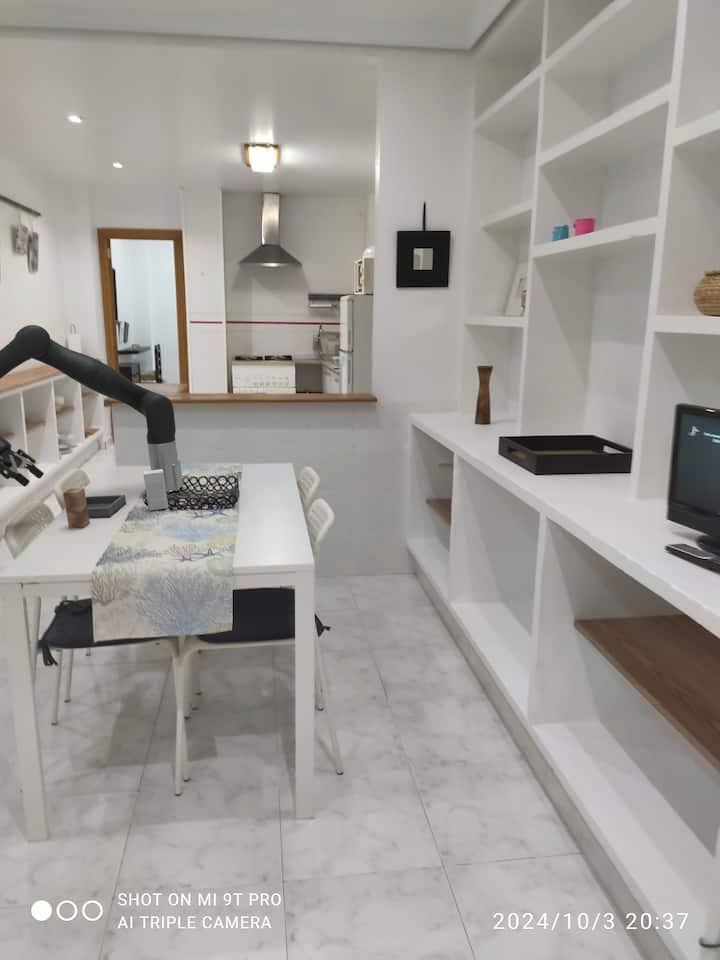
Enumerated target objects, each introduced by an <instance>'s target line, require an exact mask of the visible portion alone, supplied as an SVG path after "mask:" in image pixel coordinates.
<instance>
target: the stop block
mask: <svg viewBox="0 0 720 960" xmlns="http://www.w3.org/2000/svg"><path fill="white" fill-rule="evenodd" d="M62 496H63V501H64V507H65V513H66V517H67V523H68V529H69V528H79V529H85V528H86V527H87V526H88V524H89V525H90V524H91V522H90V518H89V515H88V509H87V502H86V497H87V496H86V492H85V488H84V487H82V488H79V487H78V488H68V489H67V490H65V491H63V493H62Z"/></svg>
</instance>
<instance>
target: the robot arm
mask: <svg viewBox="0 0 720 960" xmlns="http://www.w3.org/2000/svg"><path fill="white" fill-rule="evenodd" d="M32 359H33V360H36V361H38V362H41V363H43V364H45V365H48V366H50V367H52V368H54V369H56V370H58V371H60V372H61V373H62V374H64V375H65V376H67V377H68V378H71V379H72V380H74V381H75V382H77V383H79V384H81V385H83V386H84V387H86V388H88V389H90V390H92V391H94V392H96V393H98V394H100V395H102V396H105V397H107V398H110V399H113V400H116V401H119V402H121V403H123V404H126V405H127V406H129V407H130V408H132V409H134V410H135V411H136V412H138V413H140V414H141V415H143V417H145V420H146V429H147V430H146V431H147V433H146V444H147V450H148V460H149V464H150V465H149V467H150V471H151V470H159V469H162V470H163V472H164V479H165V486H166V490H179V489H180V488H181V487H182V486H183V487H184V481H183V474H182V466H181V461H180V460H179V458H178V450H177V441H176V431H177V430H176V421H175V420H176V419H175V418H176V417H175V409H174V406H173V403H172V401H171V400H170V398H168V397H167V396H165V395H163V394H161V393H157V392H154V391H152V390H150V389H147V388H144V387H142V386H141V385H138V384H136V383H134V382H133V381H131V380H130V379H129V378H127V377H126V376H125V375H124V374H122V373H121V372H119V371H118V370H117V369H116V368H115V369H114V368H113V367H111V366H110V365H108V364H106V363H104V362H102V361H101V360H99V359H97V358H95V357H92V356H90V355H88V354H84V353H81V352H78V351H77V350H76V351H75V350H72V349H69V348H68V347H65V346H63V345H62V344H60V343H59V342H57V341H55V340H53V339H52V338H51V336H50V334H49V332H48V330H46V329H45V328H44V327H42V326H40V325H37V324H29V325H25V326H24V327H22V328H20V329H19V330H18V331H17V332H16V333H15V335H14V337H13V339H12V340H11V341H10V342H8V344H7V345H5V346H4V347H2V349H0V380H1V379H3V378H4V377H5V376H6V375H8V373H10V372H11V371H12V370H14V369H16V368H17V367H19V366H20V365H22V364H24V363H25V362H27V361H30V360H32ZM35 463H36V459H35V458H33V457H32V456H30V454H28V453H26V452H25V451H24V450H23V449H22V448H21V449H20V448H18V449H17V450H16V451H14V450H12V443H11V442H9V441H8V440H6V439H5V438H4V437H3V436H2V435H0V475H1V476H2V477H4V478H5V479H7V480H9V479H11V480H15V481H16V482H17V483H19V484H20V485H21V486H23V487H27V486H28V485H29V483H30V479H29V478H27V477H26V476H25V475H23V474H22V473H21V472H19V469H21V470H22V469H24V470H26V471H28V472H29V473H31V474H32V475H33V476H34V477H36V478H37V479H39V480H40V479H41V478H42V477H43V476H44V471H42V470H41V469H40V468H38V466H36V465H35Z"/></svg>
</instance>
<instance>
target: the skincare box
mask: <svg viewBox="0 0 720 960" xmlns="http://www.w3.org/2000/svg"><path fill="white" fill-rule="evenodd" d="M143 478H144V486H145V492H146V498H147V505H148V510H149V511H150V512H151V511H159V510H164V509H169V501H168V493H166V486H165V479H164V472H163V470H162V469H159V470H151V469H150V470H146V471H144V470H143Z"/></svg>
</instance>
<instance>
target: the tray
mask: <svg viewBox="0 0 720 960" xmlns="http://www.w3.org/2000/svg"><path fill="white" fill-rule="evenodd" d="M86 502H87V509H88V515H89V519H104V518H105V519H106V518H109V519H110V518H112V517H113V516H114V515H115V514H116V513H117V512H118V511H120V510H121V509H122V508H123V507H125V506H126V505H127V499H126V494H120V495H119V494H117V495H116V494H115V495H95V496H94V495H92V496H89V495H88V496H86Z"/></svg>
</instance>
